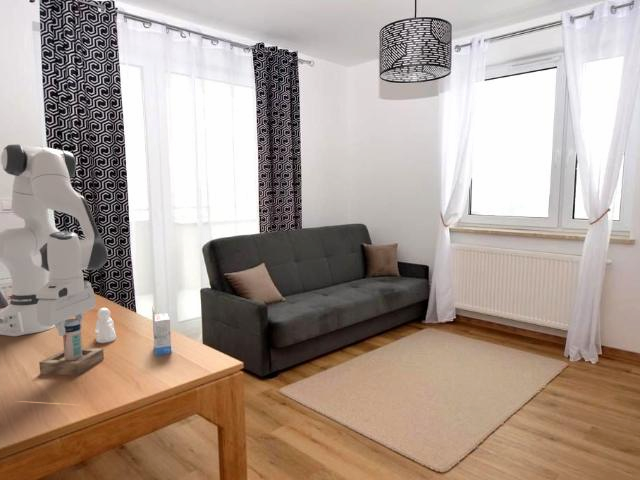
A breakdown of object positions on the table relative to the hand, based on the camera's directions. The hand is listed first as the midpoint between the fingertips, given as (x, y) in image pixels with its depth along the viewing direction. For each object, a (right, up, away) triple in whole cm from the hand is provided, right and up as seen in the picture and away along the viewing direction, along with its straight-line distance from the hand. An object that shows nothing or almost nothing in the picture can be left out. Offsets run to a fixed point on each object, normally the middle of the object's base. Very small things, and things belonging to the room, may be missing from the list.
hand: (70, 331), depth 128 cm
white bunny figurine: (-1, -9, +23) cm, 25 cm away
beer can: (0, -9, +1) cm, 9 cm away
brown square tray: (0, -12, +1) cm, 12 cm away
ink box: (+23, -10, +13) cm, 28 cm away
